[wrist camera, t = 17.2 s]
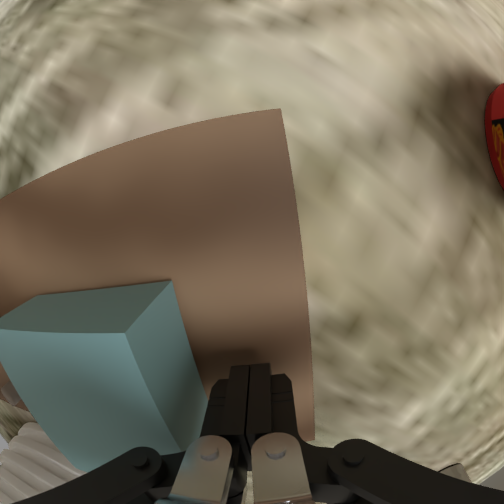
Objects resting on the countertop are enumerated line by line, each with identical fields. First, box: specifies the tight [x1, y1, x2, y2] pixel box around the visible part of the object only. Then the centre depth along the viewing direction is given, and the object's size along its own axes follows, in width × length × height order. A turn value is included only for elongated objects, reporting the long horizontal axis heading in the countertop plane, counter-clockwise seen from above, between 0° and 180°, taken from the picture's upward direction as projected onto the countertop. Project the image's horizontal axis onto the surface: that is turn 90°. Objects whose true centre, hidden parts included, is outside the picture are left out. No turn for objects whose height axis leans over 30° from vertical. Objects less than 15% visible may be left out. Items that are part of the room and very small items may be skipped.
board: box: [0, 108, 315, 441], centre depth 10 cm, size 16×30×4 cm, turn 99°
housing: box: [0, 281, 208, 473], centre depth 9 cm, size 9×8×4 cm
